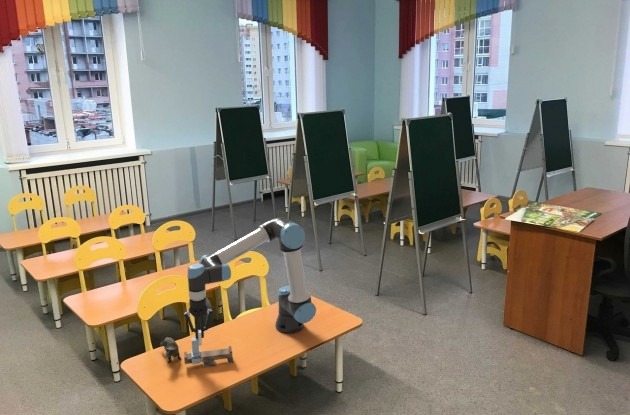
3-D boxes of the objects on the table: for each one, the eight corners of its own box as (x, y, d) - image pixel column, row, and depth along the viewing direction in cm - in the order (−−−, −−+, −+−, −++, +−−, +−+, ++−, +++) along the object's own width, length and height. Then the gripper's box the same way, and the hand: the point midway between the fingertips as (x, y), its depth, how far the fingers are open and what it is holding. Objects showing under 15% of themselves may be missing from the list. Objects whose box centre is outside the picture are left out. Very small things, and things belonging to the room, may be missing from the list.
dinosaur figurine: (160, 348, 250) (158, 328, 248) (177, 345, 254) (175, 325, 251) (165, 371, 231) (164, 349, 228) (184, 367, 234) (182, 346, 231)
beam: (231, 357, 243) (231, 345, 241) (233, 363, 238) (232, 351, 236) (184, 364, 237) (184, 351, 235) (185, 370, 232) (184, 357, 231)
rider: (200, 354, 239) (198, 334, 236) (200, 363, 232) (199, 342, 229) (191, 355, 238) (190, 335, 235) (192, 364, 231) (190, 343, 228)
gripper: (211, 292, 233) (213, 338, 239) (182, 295, 230) (185, 341, 236) (212, 299, 226) (214, 346, 232) (182, 302, 223) (186, 350, 229)
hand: (200, 344), depth 234 cm, fingers closed
